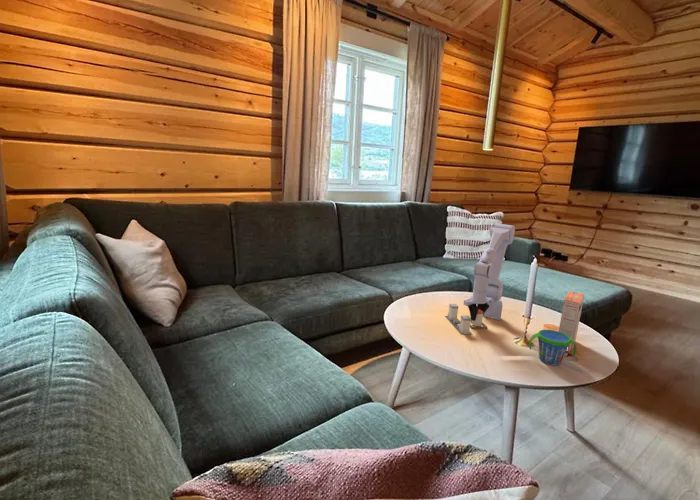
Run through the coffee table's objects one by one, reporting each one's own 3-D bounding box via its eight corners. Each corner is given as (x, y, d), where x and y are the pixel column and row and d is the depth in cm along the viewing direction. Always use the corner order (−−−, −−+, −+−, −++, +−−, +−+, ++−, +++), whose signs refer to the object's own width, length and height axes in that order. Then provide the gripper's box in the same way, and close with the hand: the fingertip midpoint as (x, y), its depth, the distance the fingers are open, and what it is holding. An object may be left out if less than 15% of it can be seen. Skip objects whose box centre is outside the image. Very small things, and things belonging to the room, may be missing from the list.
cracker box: (559, 336, 162) (568, 290, 157) (575, 341, 158) (585, 293, 153) (553, 348, 150) (563, 299, 146) (571, 353, 147) (581, 303, 142)
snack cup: (527, 362, 139) (531, 336, 136) (526, 349, 148) (530, 325, 146) (575, 373, 133) (581, 346, 131) (571, 359, 143) (576, 334, 140)
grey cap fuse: (454, 317, 173) (455, 303, 171) (456, 320, 170) (458, 306, 168) (447, 317, 172) (449, 303, 171) (450, 320, 169) (452, 306, 168)
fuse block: (454, 318, 175) (455, 313, 174) (472, 337, 156) (473, 331, 156) (444, 318, 174) (444, 313, 173) (460, 337, 156) (461, 332, 155)
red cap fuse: (476, 322, 167) (478, 308, 166) (481, 325, 165) (483, 311, 163) (471, 323, 166) (473, 309, 164) (476, 326, 163) (478, 312, 162)
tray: (478, 323, 170) (479, 319, 170) (486, 331, 163) (487, 327, 162) (463, 323, 170) (464, 319, 169) (471, 331, 162) (471, 327, 161)
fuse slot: (465, 329, 160) (467, 315, 159) (469, 333, 157) (471, 318, 156) (459, 329, 160) (461, 315, 158) (462, 333, 157) (464, 318, 155)
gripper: (486, 285, 169) (482, 314, 172) (460, 288, 163) (456, 317, 166) (498, 290, 162) (494, 320, 165) (471, 293, 157) (467, 324, 160)
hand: (476, 319), depth 165 cm, fingers closed on red cap fuse, 3 cm apart
